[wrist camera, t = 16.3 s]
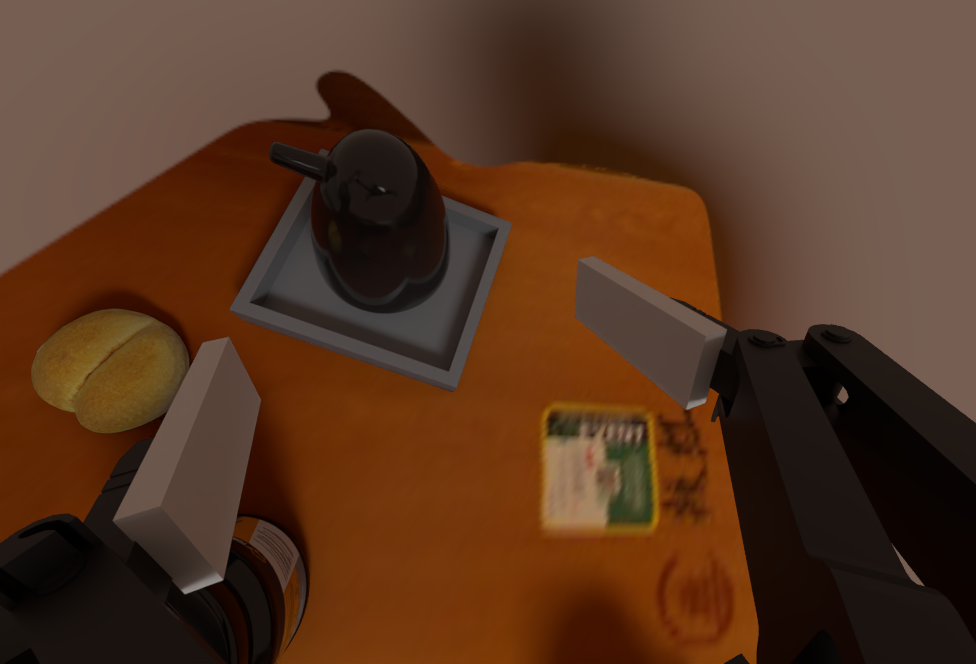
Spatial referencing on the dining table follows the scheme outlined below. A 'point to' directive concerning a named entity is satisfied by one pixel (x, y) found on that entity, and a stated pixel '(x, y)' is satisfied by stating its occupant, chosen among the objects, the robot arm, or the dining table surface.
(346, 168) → the pump dispenser
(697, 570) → the dining table surface
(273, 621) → the supplement container
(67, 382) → the bread roll
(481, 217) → the tray
